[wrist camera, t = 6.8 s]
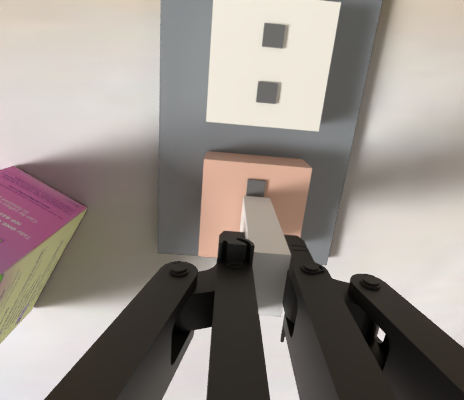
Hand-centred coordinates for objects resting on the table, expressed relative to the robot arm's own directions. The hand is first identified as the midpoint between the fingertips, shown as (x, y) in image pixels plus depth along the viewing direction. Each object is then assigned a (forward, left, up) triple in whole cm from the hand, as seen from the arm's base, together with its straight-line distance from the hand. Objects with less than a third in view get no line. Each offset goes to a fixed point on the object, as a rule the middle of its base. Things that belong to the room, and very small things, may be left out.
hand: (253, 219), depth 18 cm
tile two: (-8, 0, -3) cm, 9 cm away
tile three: (0, 0, -3) cm, 3 cm away
